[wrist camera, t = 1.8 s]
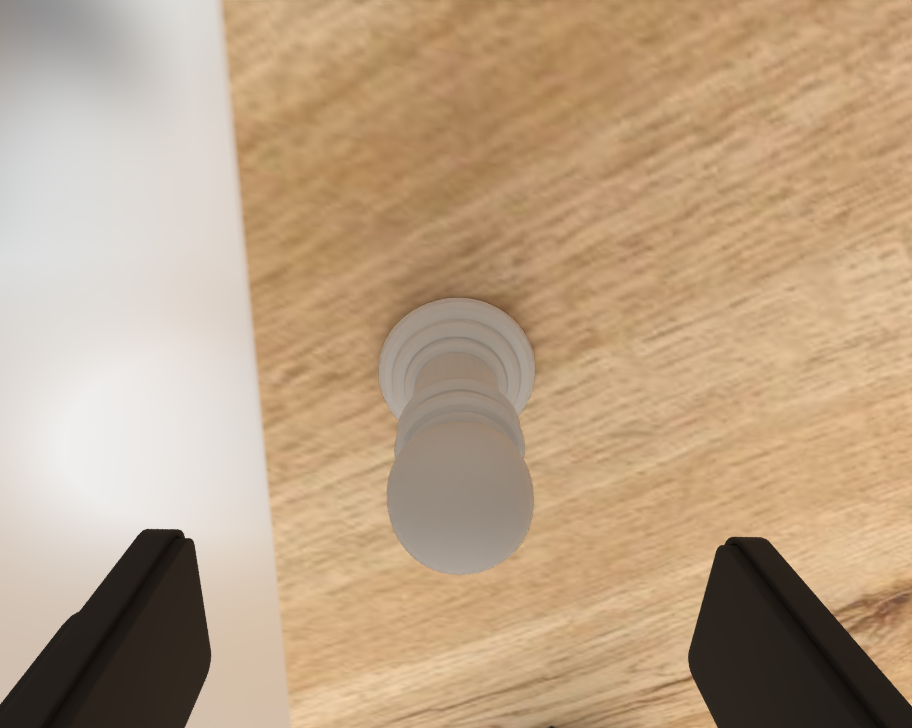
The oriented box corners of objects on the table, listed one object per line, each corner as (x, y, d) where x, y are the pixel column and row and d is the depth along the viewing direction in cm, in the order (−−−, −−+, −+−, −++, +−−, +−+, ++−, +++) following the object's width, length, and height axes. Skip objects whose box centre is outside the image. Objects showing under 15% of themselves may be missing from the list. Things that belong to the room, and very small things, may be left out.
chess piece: (402, 448, 20) (375, 663, 12) (360, 313, 18) (293, 456, 10) (543, 417, 20) (619, 616, 12) (517, 277, 18) (586, 394, 10)
